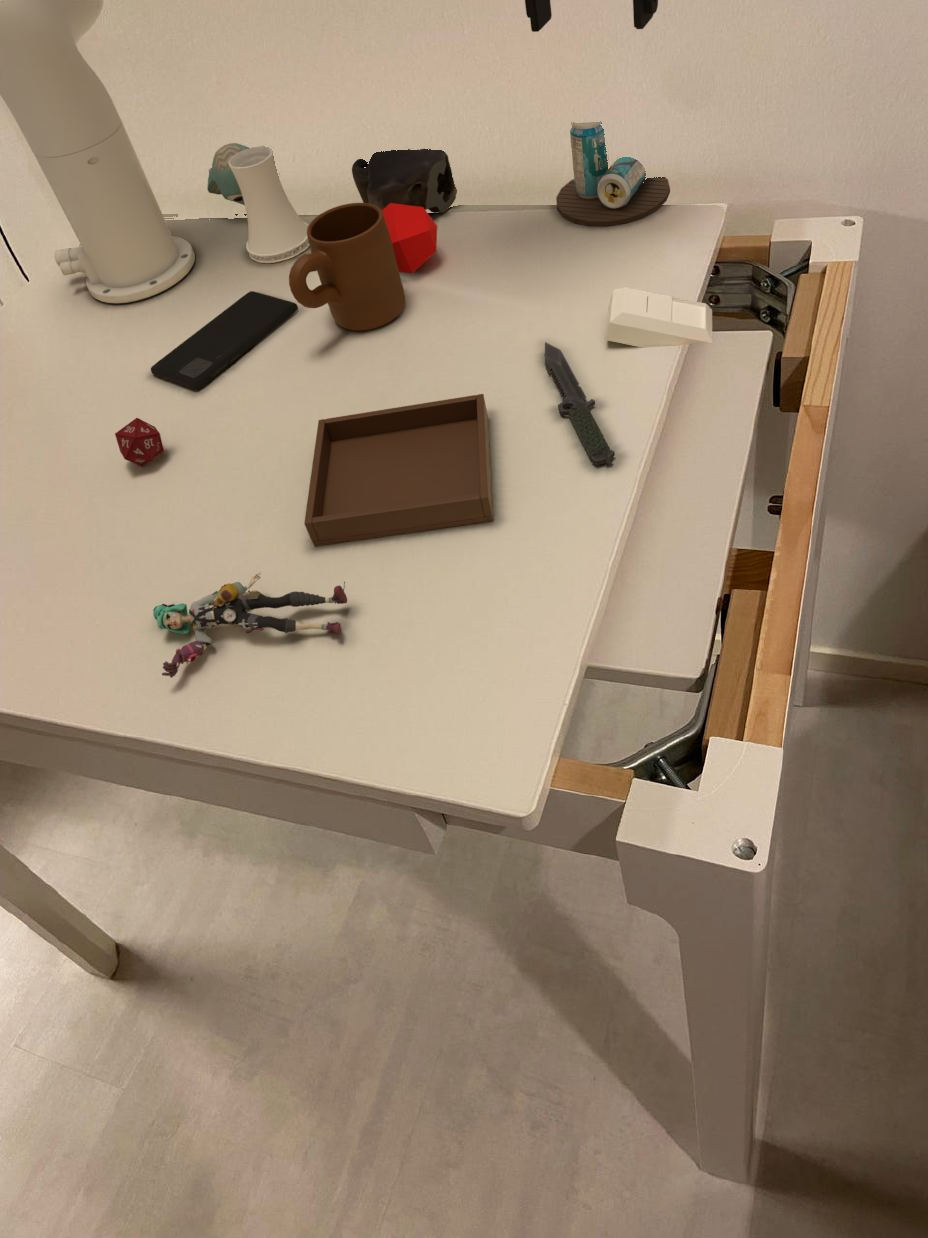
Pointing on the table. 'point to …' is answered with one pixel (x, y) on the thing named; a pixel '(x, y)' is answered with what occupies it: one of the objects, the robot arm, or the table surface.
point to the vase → (267, 208)
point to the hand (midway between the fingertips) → (591, 24)
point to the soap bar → (656, 319)
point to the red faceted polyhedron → (410, 235)
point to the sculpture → (406, 179)
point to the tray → (400, 471)
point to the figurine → (235, 616)
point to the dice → (139, 442)
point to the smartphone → (223, 340)
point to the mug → (351, 268)
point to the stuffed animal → (225, 174)
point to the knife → (577, 406)
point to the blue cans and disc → (606, 183)
